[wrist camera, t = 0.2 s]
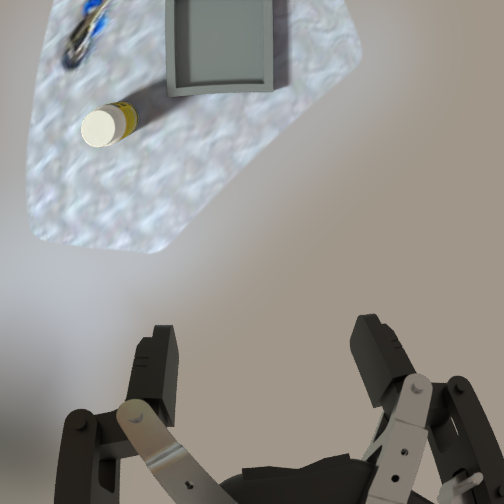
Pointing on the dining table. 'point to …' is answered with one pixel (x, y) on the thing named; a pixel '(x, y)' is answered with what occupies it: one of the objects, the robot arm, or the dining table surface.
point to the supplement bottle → (109, 124)
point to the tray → (218, 46)
